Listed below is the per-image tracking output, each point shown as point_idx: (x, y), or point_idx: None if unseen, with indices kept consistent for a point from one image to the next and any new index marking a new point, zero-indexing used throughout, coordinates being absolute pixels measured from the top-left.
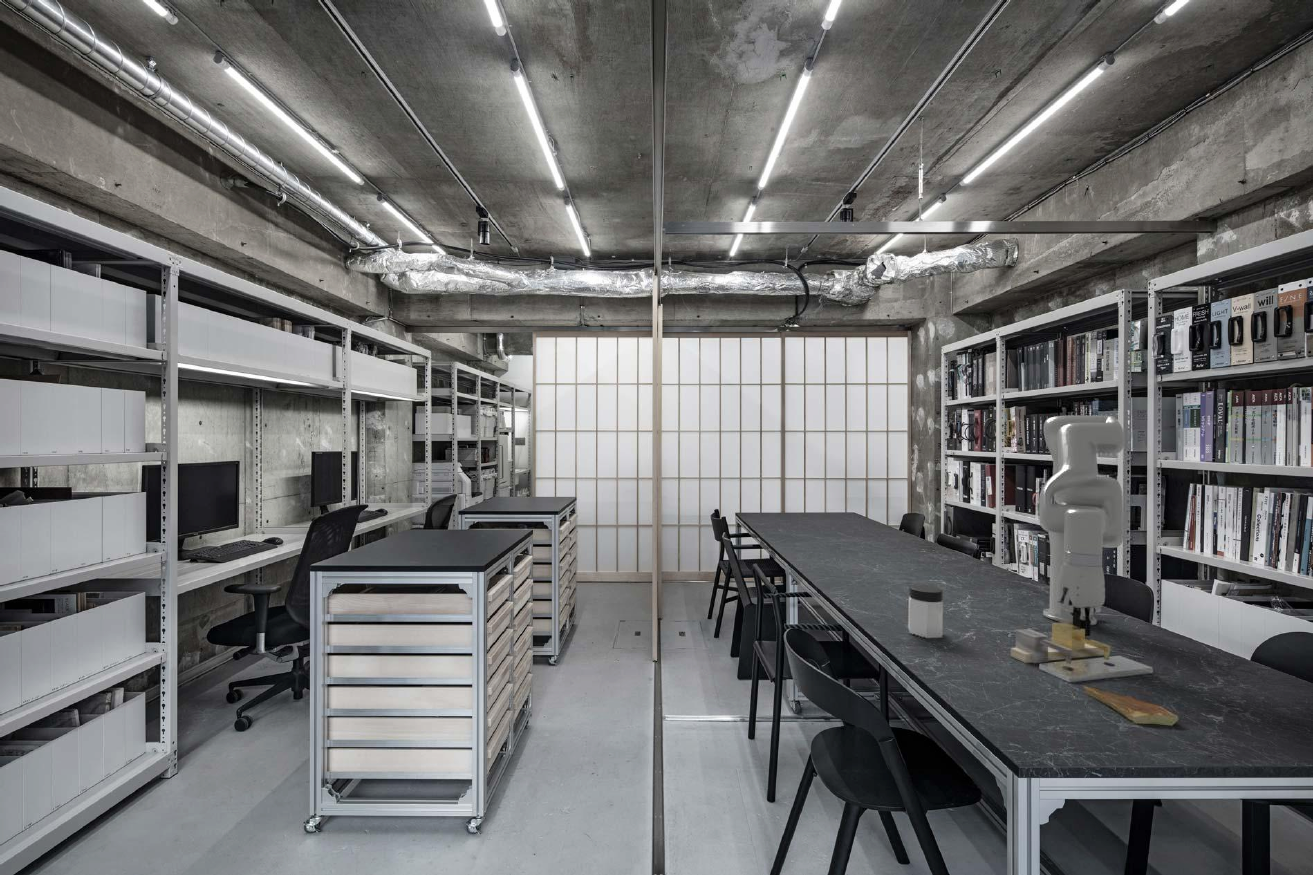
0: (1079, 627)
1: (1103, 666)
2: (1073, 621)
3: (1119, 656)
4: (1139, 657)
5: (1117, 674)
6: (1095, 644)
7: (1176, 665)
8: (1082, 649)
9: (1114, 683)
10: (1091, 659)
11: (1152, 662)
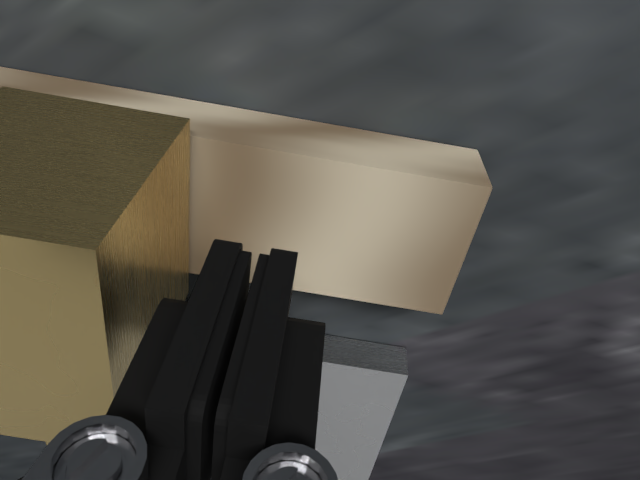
0: (99, 415)
1: None
2: (173, 347)
3: (388, 379)
4: (620, 368)
5: None
6: None
7: (636, 472)
8: (192, 269)
9: (25, 440)
10: None
11: (573, 420)
